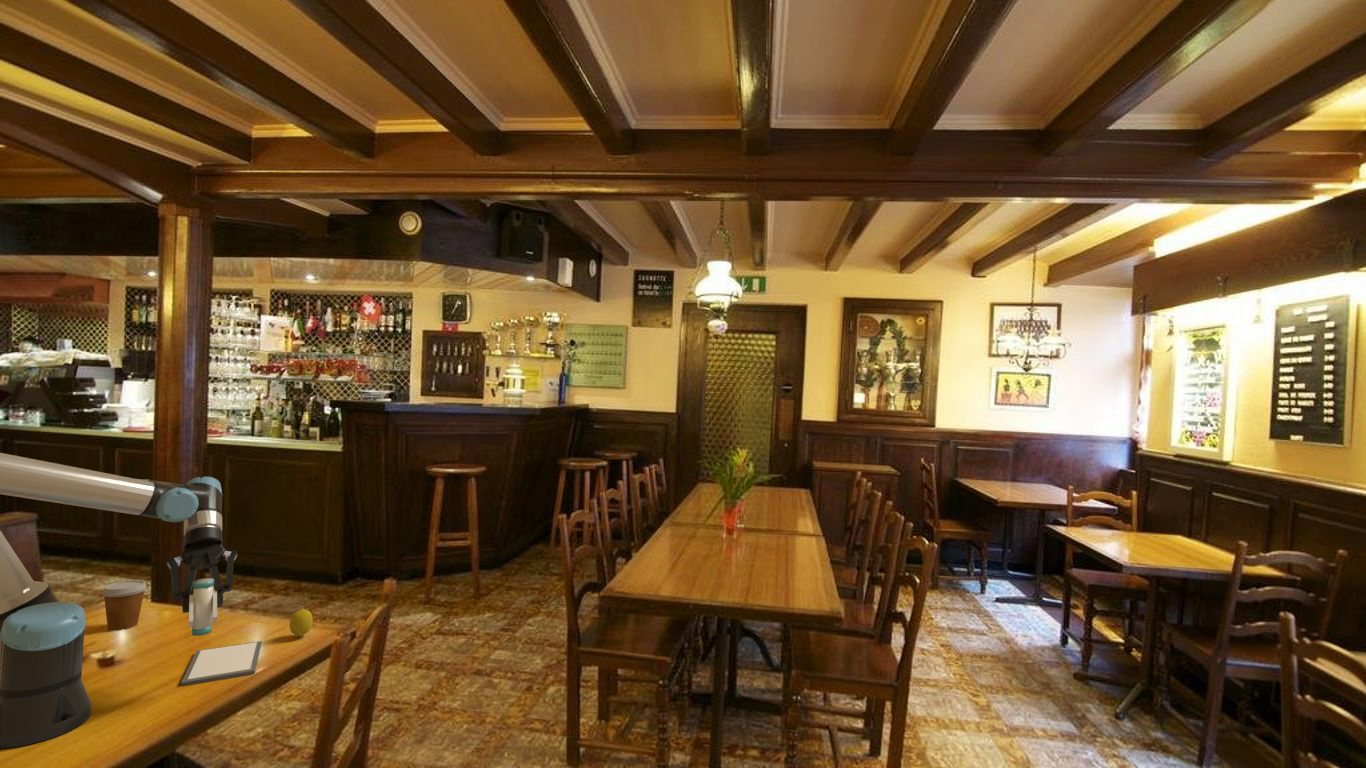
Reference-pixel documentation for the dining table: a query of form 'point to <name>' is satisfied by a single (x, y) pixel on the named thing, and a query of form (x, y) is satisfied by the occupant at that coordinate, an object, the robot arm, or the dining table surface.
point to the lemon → (301, 622)
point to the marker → (202, 606)
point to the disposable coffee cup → (123, 603)
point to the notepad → (222, 663)
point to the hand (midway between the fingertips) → (202, 621)
